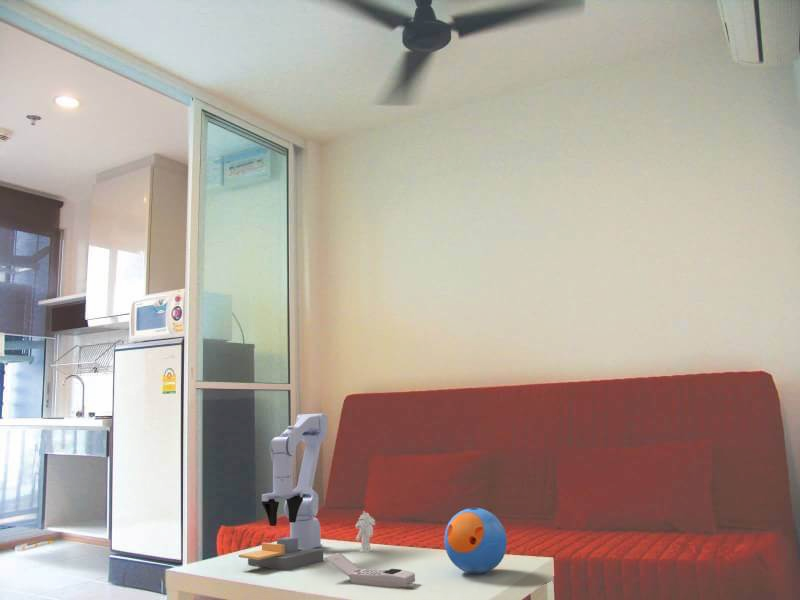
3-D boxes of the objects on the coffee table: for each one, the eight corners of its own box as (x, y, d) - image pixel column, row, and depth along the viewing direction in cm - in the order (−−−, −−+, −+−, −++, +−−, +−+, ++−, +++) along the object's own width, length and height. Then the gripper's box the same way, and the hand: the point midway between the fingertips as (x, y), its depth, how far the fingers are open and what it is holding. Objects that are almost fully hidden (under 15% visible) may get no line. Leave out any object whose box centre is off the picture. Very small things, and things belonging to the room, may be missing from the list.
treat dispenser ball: (518, 569, 161) (513, 505, 164) (492, 582, 148) (488, 513, 151) (463, 564, 169) (460, 504, 172) (434, 577, 156) (431, 511, 159)
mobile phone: (337, 552, 163) (422, 557, 150) (338, 576, 162) (424, 584, 149) (322, 557, 158) (410, 563, 145) (323, 582, 157) (411, 591, 144)
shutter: (264, 551, 181) (264, 542, 182) (284, 554, 176) (284, 544, 177) (238, 557, 174) (238, 547, 175) (258, 559, 169) (258, 550, 170)
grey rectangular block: (287, 556, 185) (287, 536, 186) (298, 557, 183) (298, 538, 184) (276, 558, 182) (276, 539, 183) (287, 560, 179) (287, 540, 180)
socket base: (285, 555, 191) (285, 545, 192) (323, 560, 182) (323, 549, 182) (247, 564, 181) (248, 553, 181) (285, 570, 171) (285, 558, 172)
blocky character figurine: (363, 554, 189) (362, 511, 192) (352, 553, 191) (351, 511, 193) (378, 548, 197) (377, 507, 200) (367, 547, 199) (366, 507, 201)
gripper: (272, 479, 186) (272, 528, 183) (309, 475, 197) (309, 521, 194) (257, 478, 190) (256, 526, 187) (293, 475, 201) (294, 520, 199)
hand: (282, 524), depth 191 cm, fingers open, 7 cm apart
